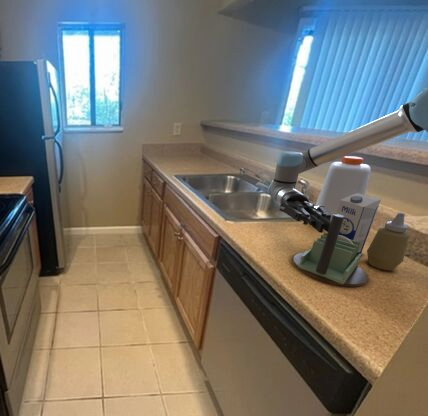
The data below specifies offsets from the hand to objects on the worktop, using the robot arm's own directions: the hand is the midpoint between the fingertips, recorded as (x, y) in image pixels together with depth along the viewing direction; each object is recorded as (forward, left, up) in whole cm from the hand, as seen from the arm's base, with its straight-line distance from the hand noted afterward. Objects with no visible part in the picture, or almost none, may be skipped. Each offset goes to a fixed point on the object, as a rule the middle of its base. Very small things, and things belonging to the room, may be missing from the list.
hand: (326, 228), depth 77 cm
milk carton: (-7, -23, -16) cm, 29 cm away
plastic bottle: (-4, -50, -16) cm, 53 cm away
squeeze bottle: (-16, -18, -16) cm, 29 cm away
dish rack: (-3, -6, -14) cm, 16 cm away
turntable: (-3, -6, -15) cm, 17 cm away
